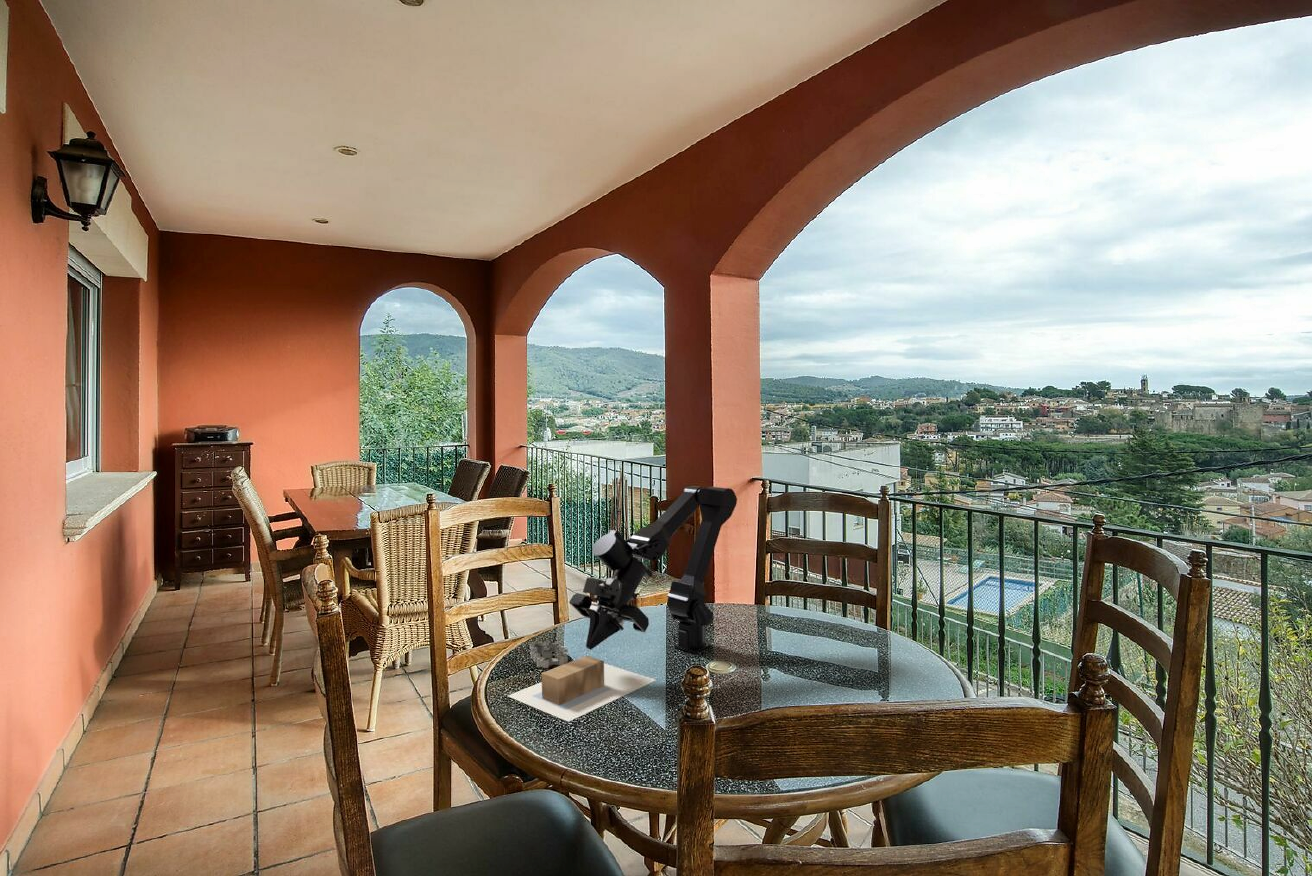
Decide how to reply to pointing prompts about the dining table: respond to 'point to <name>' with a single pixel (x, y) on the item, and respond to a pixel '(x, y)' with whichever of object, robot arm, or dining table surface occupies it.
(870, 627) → the dining table surface
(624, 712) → the dining table surface
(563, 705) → the mat
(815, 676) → the dining table surface
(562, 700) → the oak block
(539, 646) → the egg carton
